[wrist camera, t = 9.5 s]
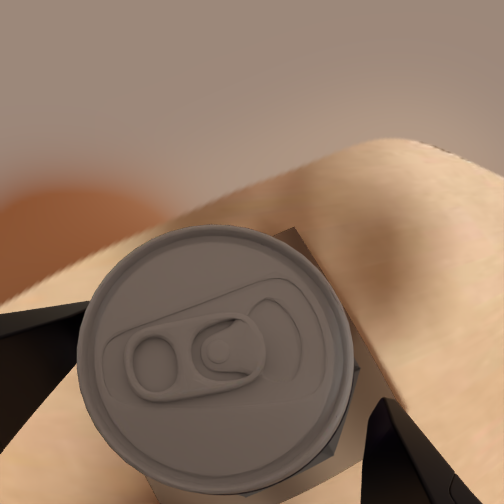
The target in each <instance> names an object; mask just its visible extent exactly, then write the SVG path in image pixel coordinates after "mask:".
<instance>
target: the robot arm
mask: <svg viewBox="0 0 504 504" xmlns="http://www.w3.org/2000/svg"><path fill="white" fill-rule="evenodd" d="M89 303H90V301H84V302H78V303H71V304H65V305H59V306H52V307H46V308H39V309H32V310H26V311H19V312H12V313H5V314H0V454H1V453H2V452H3V450H4V449H5V448H6V446H7V445H8V444H9V443H10V441H11V440H12V439H13V438H14V436H15V435H16V434H17V433H18V431H19V430H20V429H21V428H22V427H23V425H24V424H25V423H26V422H27V421H28V419H29V418H30V417H31V416H32V415H33V413H34V412H35V411H36V410H37V409H38V407H39V406H40V405H41V404H42V403H43V402H44V400H45V399H46V398H47V397H48V396H49V395H50V393H51V392H52V391H53V390H54V389H55V388H56V387H57V385H58V384H59V383H60V382H61V381H62V380H63V379H64V377H65V376H66V375H67V374H68V373H69V372H70V371H71V369H72V368H73V367H74V366H75V365H76V363H77V345H78V338H79V332H80V327H81V324H82V321H83V318H84V314H85V311H86V309H87V307H88V305H89ZM454 473H455V472H454V470H453V469H452V468H451V467H450V465H449V464H448V463H447V462H446V460H445V459H444V458H443V457H442V455H441V454H440V453H439V452H438V451H437V449H436V448H435V447H434V446H433V444H432V443H431V442H430V441H429V440H428V438H427V437H426V436H425V435H424V433H423V432H422V431H421V430H420V429H419V427H418V426H417V425H416V424H415V423H414V421H413V420H412V419H411V418H410V416H409V415H408V414H407V413H406V412H405V410H404V409H403V408H402V407H401V406H400V404H399V403H398V402H397V401H396V400H395V399H393V398H388V397H382V398H381V399H380V400H379V402H378V403H377V405H376V407H375V408H374V410H373V411H372V413H371V415H370V417H369V419H368V424H367V433H366V441H365V448H364V455H363V463H362V485H361V504H482V503H481V502H480V500H479V499H478V498H477V497H476V496H475V495H474V494H473V493H472V492H471V491H470V490H469V488H468V487H467V486H466V485H465V484H464V483H463V481H462V480H461V479H460V478H459V476H458V475H457V474H454Z"/></svg>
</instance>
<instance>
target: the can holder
mask: <svg viewBox="0 0 504 504" xmlns="http://www.w3.org/2000/svg"><path fill="white" fill-rule="evenodd" d="M272 237H274V238H276V239H278V240H280V241H282V242H284V243H286V244H288V245H289V246H290V247H292V248H293V249H295V250H296V251H298V252H299V253H301V254H302V255H303V256H305V257H306V258H307V259H308V260H309V261H310V262H311V263H312V264H313V265H314V266H315V267H316V268H318V270H319V271H320V272H321V273H322V275H323V276H324V277H325V275H324V274H323V272H322V270H321V269H320V267H319V266H318V264H317V262H316V261H315V259H314V257H313V256H312V254H311V253H310V251H309V249H308V248H307V246H306V245H305V243H304V241H303V240H302V238H301V237H300V235H299V234H298V232H297V230H296V229H295V227H293V228H290V229H288V230H286V231H283V232H281V233H279V234H276V235H274V236H272ZM325 278H326V277H325ZM326 280H327V279H326ZM327 281H328V280H327ZM342 306H343V305H342ZM343 309H344V307H343ZM344 312H345V314H346V317H347V320H348V322H349V326H350V331H351V336H352V341H353V350H354V382H353V389H352V394H351V398H350V402H349V405H348V408H347V411H346V414H345V416H344V418H343V421H342V423H341V425H340V426H339V428H338V430H337V432H336V433H335V435H334V437H333V438H332V440H331V441H330V442H329V444H328V445H327V446H326V448H325V449H324V450H323V451H322V452H321V453H320V454H319V455H318V456H317V457H316V458H315V459H314V460H313V461H312V462H311V463H310V464H309V465H307V466H306V467H305V468H303V469H302V470H301V471H299V472H298V473H296V474H295V475H293V476H292V477H290V478H288V479H286V480H284V481H282V482H280V483H278V484H276V485H273V486H271V487H268V488H265V489H262V490H259V491H255V492H251V493H245V494H238V495H208V494H200V493H194V492H188V491H184V490H180V489H177V488H173V487H170V486H167V485H164V484H162V483H160V482H158V481H156V480H153V479H151V478H149V477H147V476H145V477H146V479H147V481H148V482H149V484H150V486H151V488H152V490H153V492H154V494H155V496H156V497H157V499H158V501H159V503H160V504H279V503H282V502H284V501H286V500H288V499H290V498H293V497H295V496H297V495H299V494H301V493H303V492H305V491H307V490H309V489H311V488H313V487H315V486H317V485H319V484H321V483H323V482H325V481H326V480H328V479H330V478H332V477H334V476H336V475H337V474H339V473H341V472H343V471H344V470H346V469H348V468H349V467H351V466H353V465H355V464H356V463H358V462H359V461H361V460H363V455H364V448H365V441H366V433H367V424H368V419H369V417H370V415H371V413H372V411H373V410H374V408H375V407H376V405H377V403H378V402H379V400H380V399H381V398H382V397H388V398H393V399H395V397H394V395H393V393H392V391H391V390H390V388H389V386H388V384H387V382H386V380H385V379H384V377H383V375H382V373H381V371H380V370H379V368H378V366H377V364H376V362H375V361H374V359H373V357H372V355H371V354H370V352H369V350H368V348H367V347H366V345H365V343H364V341H363V340H362V338H361V336H360V334H359V333H358V331H357V329H356V327H355V326H354V324H353V322H352V321H351V319H350V317H349V315H348V314H347V312H346V310H345V309H344ZM395 400H396V399H395Z"/></svg>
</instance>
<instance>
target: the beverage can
mask: <svg viewBox="0 0 504 504" xmlns="http://www.w3.org/2000/svg"><path fill="white" fill-rule="evenodd" d="M77 373H78V379H79V385H80V390H81V394H82V397H83V400H84V403H85V406H86V409H87V411H88V413H89V415H90V417H91V419H92V421H93V423H94V425H95V427H96V429H97V430H98V431H99V433H100V434H101V435H102V437H103V438H104V440H105V441H106V442H107V444H108V445H109V446H110V447H111V448H112V449H113V450H114V451H115V452H116V453H117V454H118V455H119V456H120V457H121V458H122V459H123V460H124V461H125V462H126V463H128V464H129V465H131V466H132V467H133V468H135V469H136V470H138V471H139V472H141V473H142V474H144V475H145V476H147V477H149V478H151V479H153V480H156V481H158V482H160V483H162V484H164V485H167V486H170V487H173V488H177V489H180V490H184V491H188V492H194V493H200V494H208V495H238V494H245V493H251V492H255V491H259V490H262V489H265V488H268V487H271V486H273V485H276V484H278V483H280V482H282V481H284V480H286V479H288V478H290V477H292V476H293V475H295V474H296V473H298V472H299V471H301V470H302V469H303V468H305V467H306V466H307V465H309V464H310V463H311V462H312V461H313V460H314V459H315V458H316V457H317V456H318V455H319V454H320V453H321V452H322V451H323V450H324V449H325V448H326V446H327V445H328V444H329V442H330V441H331V440H332V438H333V437H334V435H335V433H336V432H337V430H338V428H339V426H340V425H341V423H342V421H343V418H344V416H345V414H346V411H347V408H348V405H349V402H350V398H351V394H352V389H353V382H354V350H353V341H352V336H351V331H350V326H349V322H348V320H347V317H346V314H345V312H344V309H343V306H342V304H341V302H340V300H339V298H338V297H337V295H336V293H335V291H334V290H333V288H332V286H331V285H330V283H329V282H328V281H327V280H326V278H325V277H324V276H323V275H322V273H321V272H320V271H319V270H318V268H316V267H315V266H314V265H313V264H312V263H311V262H310V261H309V260H308V259H307V258H306V257H305V256H303V255H302V254H301V253H299V252H298V251H296V250H295V249H293V248H292V247H290V246H289V245H288V244H286V243H284V242H282V241H280V240H278V239H276V238H274V237H272V236H270V235H268V234H264V233H261V232H258V231H255V230H252V229H249V228H243V227H237V226H231V225H200V226H191V227H186V228H182V229H178V230H174V231H171V232H168V233H165V234H163V235H161V236H158V237H156V238H153V239H151V240H149V241H148V242H146V243H144V244H143V245H141V246H139V247H138V248H136V249H134V250H133V251H132V252H131V253H129V254H128V255H127V256H126V257H124V258H123V259H122V260H121V261H119V262H118V263H117V265H116V266H115V267H114V268H113V269H112V270H111V271H110V272H109V273H108V274H107V275H106V277H105V278H104V279H103V281H102V282H101V284H100V285H99V287H98V288H97V289H96V291H95V293H94V295H93V297H92V299H91V301H90V303H89V305H88V307H87V309H86V311H85V314H84V318H83V321H82V324H81V327H80V332H79V338H78V345H77Z"/></svg>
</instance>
